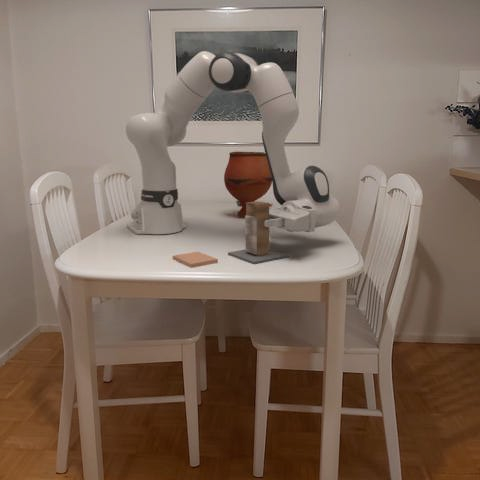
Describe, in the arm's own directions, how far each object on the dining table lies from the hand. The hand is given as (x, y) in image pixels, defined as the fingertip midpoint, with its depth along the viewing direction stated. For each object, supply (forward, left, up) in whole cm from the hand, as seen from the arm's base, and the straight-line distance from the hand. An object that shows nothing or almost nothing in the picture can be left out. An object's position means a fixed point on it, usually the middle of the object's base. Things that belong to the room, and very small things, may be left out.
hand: (255, 221), depth 133 cm
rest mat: (0, +1, -10) cm, 10 cm away
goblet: (-50, +35, -10) cm, 62 cm away
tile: (-6, -12, -10) cm, 16 cm away
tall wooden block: (0, +1, -9) cm, 9 cm away
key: (-61, +57, -10) cm, 84 cm away
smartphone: (-76, +53, -10) cm, 93 cm away
